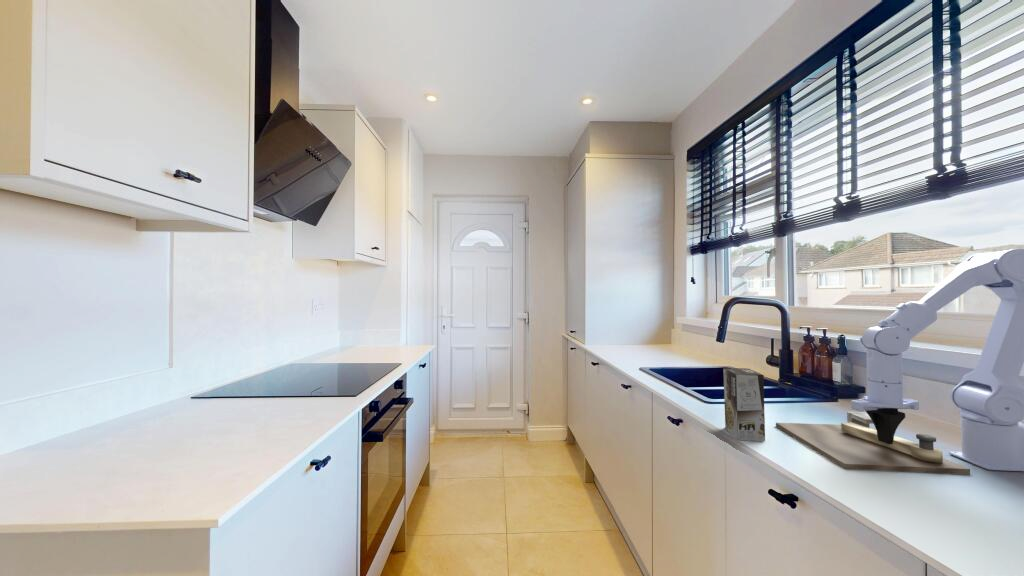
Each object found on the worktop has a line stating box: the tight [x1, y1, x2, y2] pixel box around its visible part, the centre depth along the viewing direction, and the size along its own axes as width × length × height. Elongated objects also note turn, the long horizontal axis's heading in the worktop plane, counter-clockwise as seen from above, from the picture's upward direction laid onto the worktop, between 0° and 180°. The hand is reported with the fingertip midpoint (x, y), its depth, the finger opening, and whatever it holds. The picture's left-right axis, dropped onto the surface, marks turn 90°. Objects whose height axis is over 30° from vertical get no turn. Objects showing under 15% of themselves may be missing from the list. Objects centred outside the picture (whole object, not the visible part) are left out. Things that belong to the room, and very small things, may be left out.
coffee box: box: [723, 367, 766, 442], centre depth 96 cm, size 9×6×16 cm
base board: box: [775, 411, 971, 475], centre depth 87 cm, size 22×25×5 cm
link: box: [840, 422, 944, 463], centre depth 85 cm, size 18×4×4 cm, turn 9°
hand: (885, 442), depth 84 cm, fingers closed, pressing on link
